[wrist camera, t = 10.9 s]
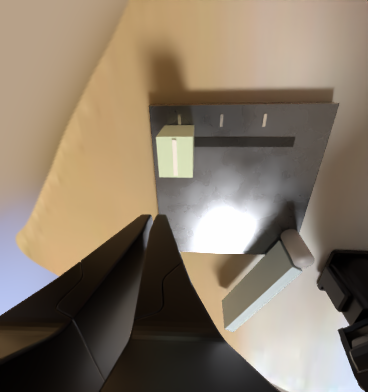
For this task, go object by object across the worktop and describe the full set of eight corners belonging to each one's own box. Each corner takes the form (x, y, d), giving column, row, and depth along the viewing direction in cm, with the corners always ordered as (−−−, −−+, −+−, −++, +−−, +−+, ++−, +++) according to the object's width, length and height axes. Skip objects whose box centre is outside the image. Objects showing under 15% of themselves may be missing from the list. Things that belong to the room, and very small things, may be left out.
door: (288, 226, 22) (303, 252, 19) (302, 233, 22) (319, 260, 19) (219, 299, 29) (222, 328, 25) (231, 303, 29) (235, 332, 25)
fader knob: (194, 125, 18) (192, 137, 14) (194, 159, 19) (192, 178, 16) (164, 125, 18) (155, 137, 14) (166, 159, 19) (158, 177, 16)
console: (332, 102, 17) (340, 103, 16) (288, 249, 25) (292, 256, 24) (151, 104, 18) (148, 105, 17) (163, 245, 26) (162, 251, 25)
